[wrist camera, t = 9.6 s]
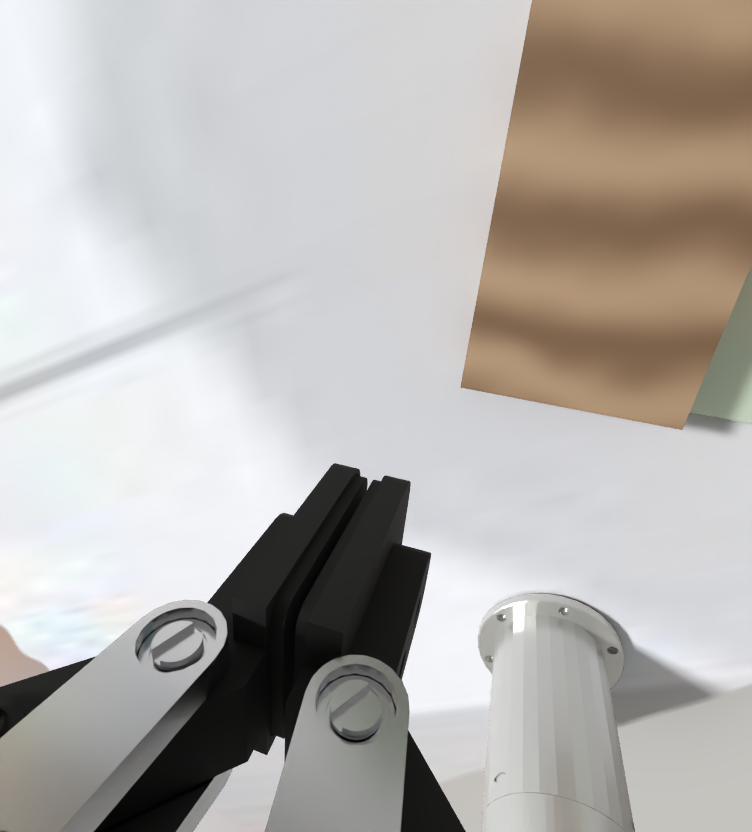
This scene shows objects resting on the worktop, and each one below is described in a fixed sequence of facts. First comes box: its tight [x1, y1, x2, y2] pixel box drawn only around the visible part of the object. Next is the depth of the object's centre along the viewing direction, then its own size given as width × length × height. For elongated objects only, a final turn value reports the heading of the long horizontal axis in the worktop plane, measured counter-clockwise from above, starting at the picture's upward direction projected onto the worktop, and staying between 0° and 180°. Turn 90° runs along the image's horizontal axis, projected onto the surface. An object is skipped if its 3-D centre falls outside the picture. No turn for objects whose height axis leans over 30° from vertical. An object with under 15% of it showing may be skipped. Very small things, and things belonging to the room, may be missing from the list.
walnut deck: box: [461, 0, 752, 430], centre depth 28 cm, size 22×14×4 cm, turn 175°
